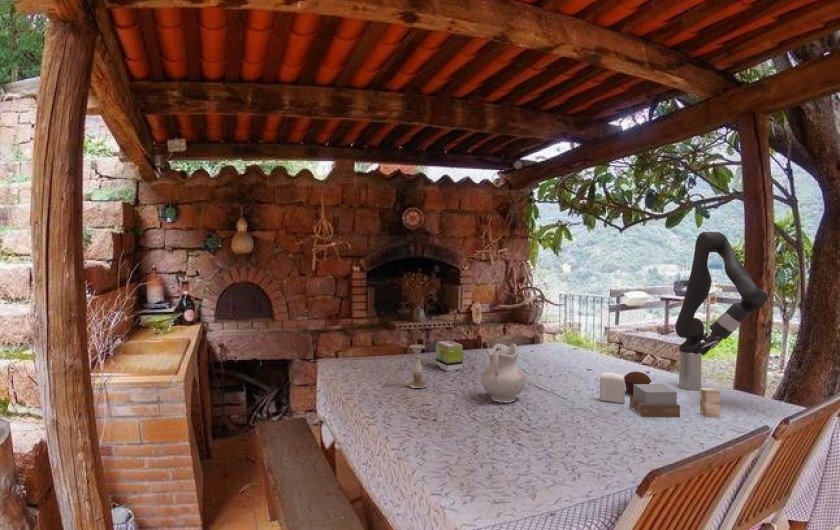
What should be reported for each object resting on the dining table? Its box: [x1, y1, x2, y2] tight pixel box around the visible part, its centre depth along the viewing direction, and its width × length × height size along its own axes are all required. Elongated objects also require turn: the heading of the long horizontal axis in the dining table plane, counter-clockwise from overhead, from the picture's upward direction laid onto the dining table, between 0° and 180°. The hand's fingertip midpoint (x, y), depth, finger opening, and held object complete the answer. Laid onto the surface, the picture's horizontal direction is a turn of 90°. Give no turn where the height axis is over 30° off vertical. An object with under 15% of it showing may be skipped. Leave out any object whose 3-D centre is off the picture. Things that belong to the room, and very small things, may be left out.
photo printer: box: [599, 372, 626, 404], centre depth 216 cm, size 10×4×12 cm, turn 61°
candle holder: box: [409, 343, 426, 386], centre depth 243 cm, size 9×9×20 cm
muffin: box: [624, 371, 652, 396], centre depth 227 cm, size 12×11×10 cm
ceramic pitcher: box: [480, 342, 526, 401], centre depth 220 cm, size 22×20×25 cm
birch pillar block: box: [699, 387, 721, 418], centre depth 197 cm, size 5×5×10 cm
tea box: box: [435, 340, 464, 370], centre depth 281 cm, size 15×10×15 cm
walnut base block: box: [629, 395, 681, 418], centre depth 202 cm, size 14×14×5 cm
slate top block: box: [633, 383, 678, 405], centre depth 202 cm, size 12×12×5 cm
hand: (697, 353), depth 214 cm, fingers open, 8 cm apart
